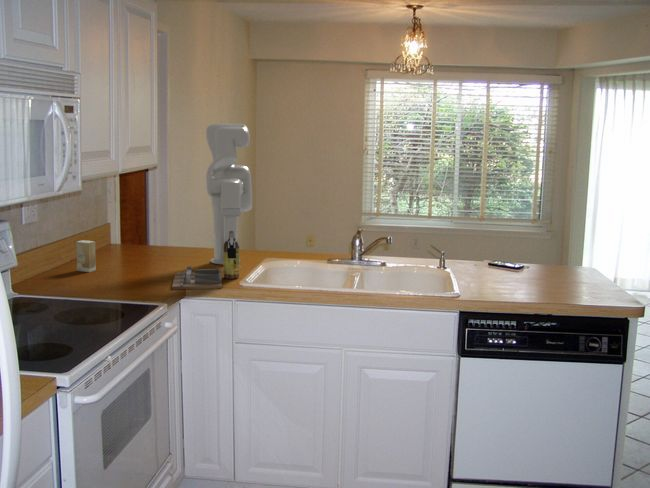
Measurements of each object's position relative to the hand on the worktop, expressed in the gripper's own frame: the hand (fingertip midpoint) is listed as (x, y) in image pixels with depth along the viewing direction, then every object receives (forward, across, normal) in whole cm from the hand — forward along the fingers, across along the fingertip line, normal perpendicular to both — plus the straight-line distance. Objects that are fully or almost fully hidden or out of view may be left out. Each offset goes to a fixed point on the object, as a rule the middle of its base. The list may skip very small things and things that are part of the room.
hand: (231, 255), depth 267 cm
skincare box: (+9, -19, -58) cm, 62 cm away
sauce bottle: (+9, -1, 0) cm, 9 cm away
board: (+9, +4, -13) cm, 16 cm away
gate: (+8, +6, -16) cm, 19 cm away
